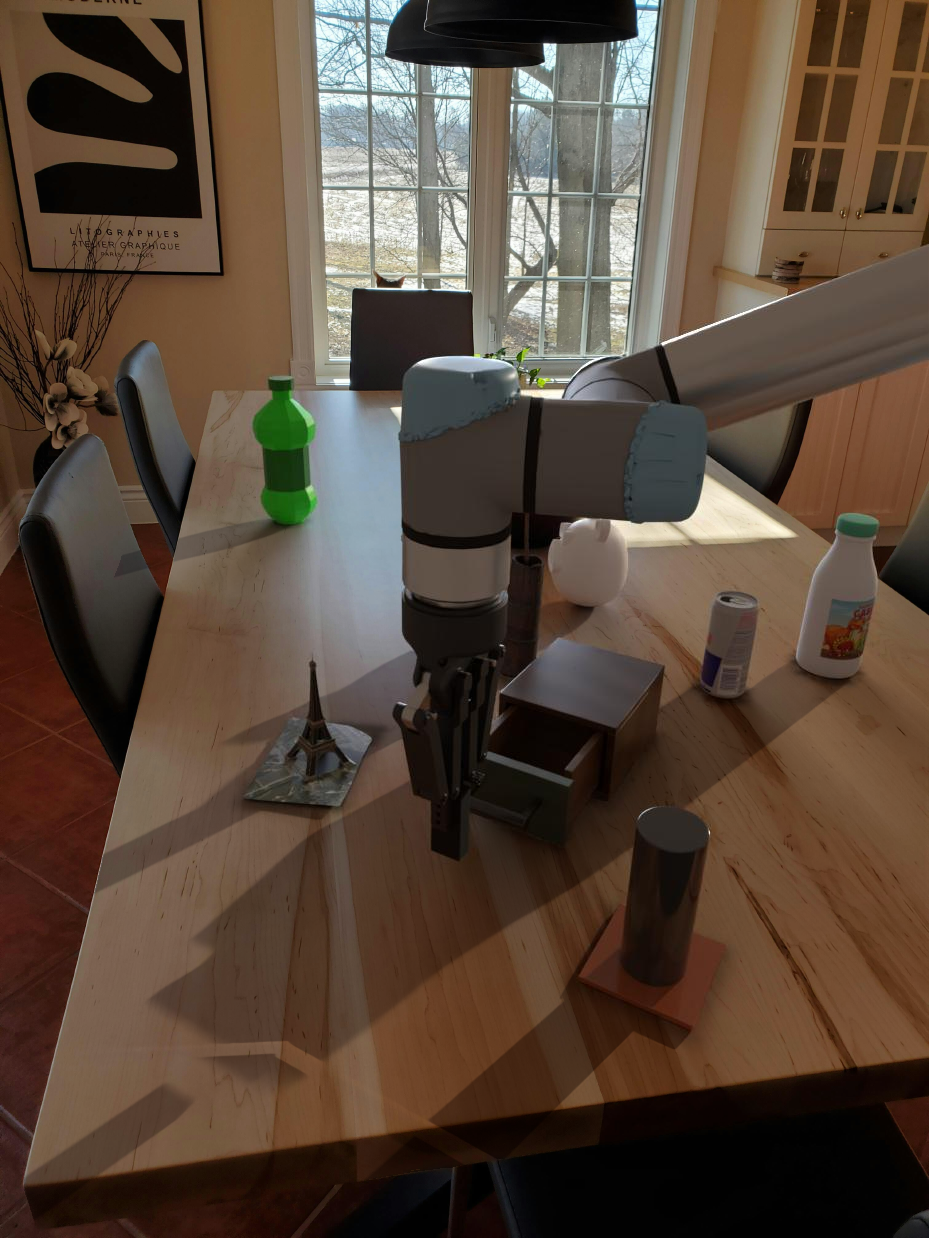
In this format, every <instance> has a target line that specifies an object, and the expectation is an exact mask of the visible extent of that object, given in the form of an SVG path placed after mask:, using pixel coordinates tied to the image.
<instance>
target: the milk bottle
mask: <svg viewBox="0 0 929 1238" xmlns="http://www.w3.org/2000/svg"><path fill="white" fill-rule="evenodd" d="M835 527H836V528H835V531H834V534H835V535H836V536H835V539H834V542H833V543H832V545H831V547H830V549H829V550H828V551H827V553H826V554H825V555H824V557H823V558H822V559H821V560H820V562H819V563H818V565H817V567H816V569H815V570H814V573H813V576H812V578H811V582H810V586H809V590H808V595H807V599H806V603H805V609H804V614H803V618H802V623H801V628H800V634H799V638H798V642H797V647H796V653H795V659H796V662H797V664H798V665H799V667H801V668H802V669H803V670H805V671H806V672H809V673H811V674H813V675H816V676H819V677H823V678H829V679H847V678H850V677H853V676H854V675H855V674H856V673H857V672H858V671H859V669H860V666H861V663H862V659H863V654H864V651H865V646H866V642H867V638H868V637H867V636H868V634H869V629H870V626H871V621H872V616H873V612H874V607H875V603H876V597H877V593H878V585H879V584H878V583H879V582H878V580H879V579H878V573H877V567H876V565H875V560H874V554H873V542H874V541H875V540H876V539H877V534H878V531H879V527H880V522H879V520H878V519H877V518H875V517H874V516H871V515H867V514H865V513H864V514H863V513H854V512H847V513H846V512H845V513H842V514H840V515H839V516H838V517H837V520H836V525H835Z"/></svg>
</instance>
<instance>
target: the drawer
mask: <svg viewBox="0 0 929 1238" xmlns="http://www.w3.org/2000/svg"><path fill="white" fill-rule="evenodd" d="M607 737H608V733H607V732H604V731H600V730H597V729H594V728H590V727H587V726H584V725H581V724H577V723H574V722H571V721H568V720H564V719H561V718H558V717H555V716H551V715H548V714H545V713H541V712H538V711H535V710H532V709H528V708H525V707H522V706H519V705H515V704H512V705H511V706H510V707H509V708H508V709H507V710H506V711H505V712H504V713H503V714H502V715H501V716H500V717H499V718H498V717H497V718H496V720H493V721H492V725H491V732H490V738H489V744H488V751H487V757H486V760H485V762H484V763H483V764H479V763H477V764H476V771H477V772H479V773H482V774H484V779H483V781H482V783H481V785H476V784H473V783H470V786H471V788H470V814H472V815H475V816H478V817H479V818H483V819H486V820H488V821H490V822H493V823H496V824H498V825H501V826H504V827H507V828H509V829H512V830H515V831H517V832H520V833H523V834H525V835H528V836H530V837H533V838H536V839H539V840H541V841H544V842H547V843H549V844H552V845H554V846H557V847H559V848H562V849H563V848H565V846H567V844H568V842H569V839H570V828H571V824H572V822H573V821H574V819H575V818H576V817H577V816H578V814H579V812H580V811H581V810H582V808H583V807H584V806H585V804H586V803H587V802H588V800H589V799H590V798H591V795H592V793H593V792H594V791H595V789H596V788H597V786H598V785H599V784H600V782H601V781H602V780H603V774H604V765H605V756H606V746H607Z"/></svg>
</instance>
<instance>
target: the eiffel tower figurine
mask: <svg viewBox="0 0 929 1238" xmlns="http://www.w3.org/2000/svg"><path fill="white" fill-rule="evenodd" d="M308 667H309V703H308V713H307V716H306V717H305V718H298V717H290V718H289V719H288V721H287V723H286V725H285V726H284V727H283V730H282V731H281V733H280V735H279V736H278V738H277V739H276V740H275V743H274V744H273V746H272V748H271V750H270V751H269V753H268V754H267V756H266V758H265V759H264V760H263V763H262V764H261V766H260V768H259V769H258V771H257V773H256V775H255V776H254V778H253V779H252V781H251V783H250V785H249V786H248V788H247V790H246V791H245V793H244V795H243V797H242V799H245V800H246V799H247V800H256V801H267V802H268V801H269V802H279V803H292V804H293V803H294V804H308V805H321V806H333V807H340V806H341V804H342V802H343V801H344V799H345V798H346V796H347V794H348V792H349V790H350V788H351V786H352V784H353V781H354V779H355V776H356V774H357V771H358V770H359V767H361V765H360V764H361V762H362V759H363V757H364V755H365V754H366V751H367V750H368V747H369V746H370V744H371V742H372V740H373V738H372V737H371V736H370V735H368V734H367V733H365V732H364V731H361V730H360V729H358V728H355V727H353V726H350V725H348V724H340V723H333V722H328V721H326V717H324V714H323V710H322V705H321V700H320V699H321V698H320V692H319V685H318V677H317V667H318V665H317V662H315V661H314V657H313V654H311V660H310V661H309V662H308Z"/></svg>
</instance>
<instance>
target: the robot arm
mask: <svg viewBox="0 0 929 1238" xmlns="http://www.w3.org/2000/svg"><path fill="white" fill-rule="evenodd" d="M926 361H929V243H928V244H925V245H923V246H920V247H917V248H914V249H912V250H911V249H910V250H909V251H906V252H903V253H901V254H897V255H895V256H893V257H890V258H888V259H885V260H882V261H880V262H876V263H874V264H871V265H868V266H866V267H863V268H860V269H858V270H855V271H853V272H850V273H847V274H845V275H842V276H839V277H837V278H833V279H830V280H828V281H825V282H822V283H820V284H818V285H815V286H812V287H808V288H806V289H804V290H801V291H798V292H796V293H793V294H791V295H788V296H785V297H782V298H779V299H777V300H774V301H772V302H769V303H765V304H763V305H761V306H758V307H756V308H752V309H750V310H747V311H744V312H742V313H739V314H736V315H734V316H731V317H728V318H725V319H723V320H720V321H717V322H715V323H712V324H709V325H707V326H704V327H701V328H699V329H696V330H692V331H690V332H687V333H685V334H681V335H679V336H677V337H674V338H671V339H669V340H666V341H663V342H662V343H660V344H658V345H654V346H652V347H648V348H645V349H642V350H639V351H636V352H634V353H631V354H628V355H626V356H623V357H622V356H618V355H614V356H612V355H608V356H607V355H606V356H602V357H598V358H597V357H596V358H594V359H592V360H590V361H589V362H587V363H585V364H584V365H582V366H581V367H580V368H579V369H578V370H577V371H576V372H575V373H574V375H572V376H571V378H570V379H569V381H568V382H567V383H566V386H565V388H564V390H563V391H562V394H561V397H560V398H554V397H553V398H552V397H542V396H533V395H527V394H522V393H521V392H522V388H521V387H520V384H519V383H520V382H519V374H518V370H517V369H516V368H515V366H514V365H512V364H511V363H509V362H507V361H504V360H500V359H496V358H484V357H481V356H469V355H452V356H451V355H450V356H436V357H430V358H426V359H422V360H420V361H418V362H415V363H414V364H413V365H412V366H410V368H408V369H407V371H406V372H405V373H404V376H403V379H402V390H401V391H402V392H401V413H400V431H399V432H398V433H397V439H398V441H399V462H400V463H399V464H400V465H399V466H400V504H401V516H400V517H401V518H400V519H401V522H400V523H401V524H400V525H401V535H400V541H401V581H402V584H403V586H404V587H403V589H402V592H401V635H402V637H403V639H404V640H405V642H406V643H407V644H408V645H409V646H410V648H411V649H412V650H413V652H414V654H415V656H416V660H415V666H414V670H413V674H412V683H413V686H414V687H415V689H414V691H413V693H412V695H411V697H410V699H409V700H408V702H407V703H404V702H401V701H400V702H396V703H395V704H394V706H393V709H392V719H393V720H394V722H395V723H396V725H397V726H398V727H399V729H400V732H401V738H402V742H403V748H404V749H403V750H404V752H405V759H406V763H407V770H408V775H409V780H410V784H411V791H412V794H413V796H415V797H417V798H421V799H423V800H425V801H428V802H430V851H431V852H433V853H436V854H439V855H441V856H444V857H446V858H449V859H451V860H454V861H456V862H458V863H460V862H461V861H462V860H463V859H464V858H465V856H466V855H467V854H468V853H469V849H470V848H469V847H470V816H471V813H470V788H471V786H470V783H473V784H476V785H481V783H482V781H483V779H484V774H482V773H479V772H477V771H476V764H477V763H479V764H483V763H484V762H485V760H486V757H487V751H488V744H489V738H490V732H491V725H492V723H493V718H494V711H495V705H496V699H497V694H498V693H497V692H498V686H499V680H500V674H501V672H500V671H501V668H502V664H503V661H504V658H505V654H506V646H504V645H500V644H501V643H502V642H503V640H504V638H505V636H506V627H507V607H508V594H507V588H508V585H509V578H510V568H511V546H512V545H511V544H512V543H511V542H512V516H513V513H517V514H518V513H521V514H525V513H526V514H529V515H543V516H544V515H545V516H557V517H568V518H569V517H572V518H582V519H587V518H594V519H606V520H611V521H618V522H619V521H620V522H630V523H631V524H636V525H642V524H644V523H680V522H685V521H687V520H689V519H690V518H691V517H692V516H693V515H694V513H696V511H697V508H698V506H699V503H700V500H701V495H702V491H703V487H704V479H705V473H706V472H705V471H706V466H707V465H706V464H707V451H708V434H711V433H714V432H717V431H720V430H724V429H726V428H728V427H729V428H730V427H731V426H734V425H737V424H741V423H744V422H746V421H749V420H752V419H755V418H759V417H762V416H765V415H768V414H771V413H774V412H777V411H779V410H782V409H785V408H788V407H792V406H795V405H797V404H800V403H803V402H807V401H810V400H812V399H815V398H819V397H821V396H824V395H827V394H830V393H833V392H836V391H839V390H842V389H846V388H848V387H851V386H854V385H857V384H860V383H863V382H866V381H869V380H872V379H875V378H878V377H882V376H884V375H887V374H890V373H893V372H896V371H899V370H902V369H904V368H907V367H912V366H913V365H917V364H920V363H923V362H926Z"/></svg>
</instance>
